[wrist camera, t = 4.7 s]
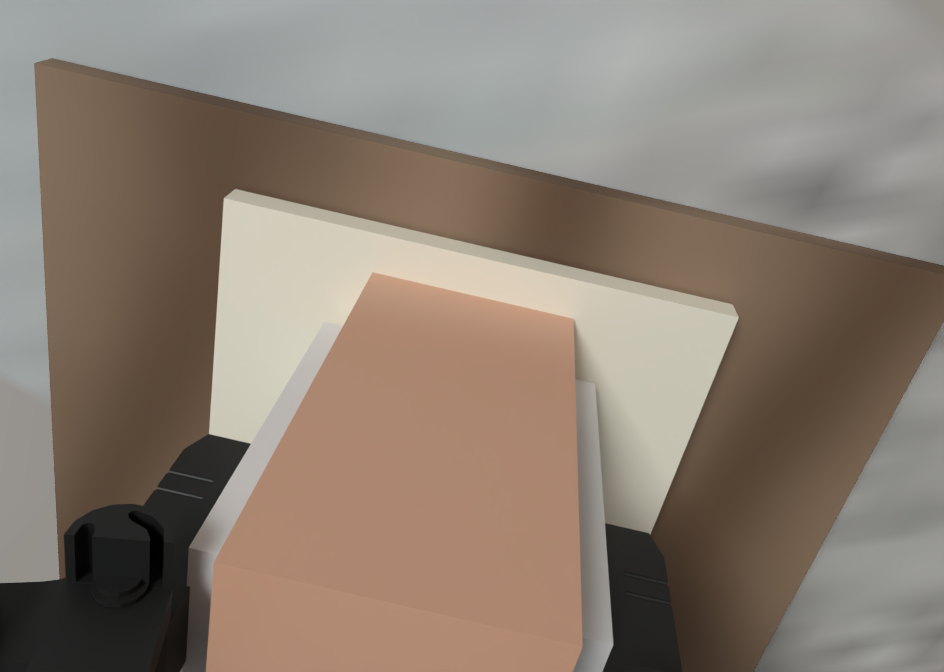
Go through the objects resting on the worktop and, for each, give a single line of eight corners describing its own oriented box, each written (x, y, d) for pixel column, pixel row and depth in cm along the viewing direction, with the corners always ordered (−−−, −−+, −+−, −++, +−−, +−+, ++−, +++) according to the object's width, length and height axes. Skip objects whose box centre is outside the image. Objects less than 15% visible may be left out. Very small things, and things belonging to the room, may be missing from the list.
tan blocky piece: (733, 304, 16) (891, 658, 8) (628, 565, 19) (672, 993, 11) (235, 188, 16) (-74, 437, 8) (215, 470, 19) (-17, 836, 11)
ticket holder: (952, 267, 16) (1073, 374, 12) (643, 848, 25) (658, 1009, 21) (52, 58, 16) (-108, 100, 12) (77, 718, 25) (-8, 858, 21)
